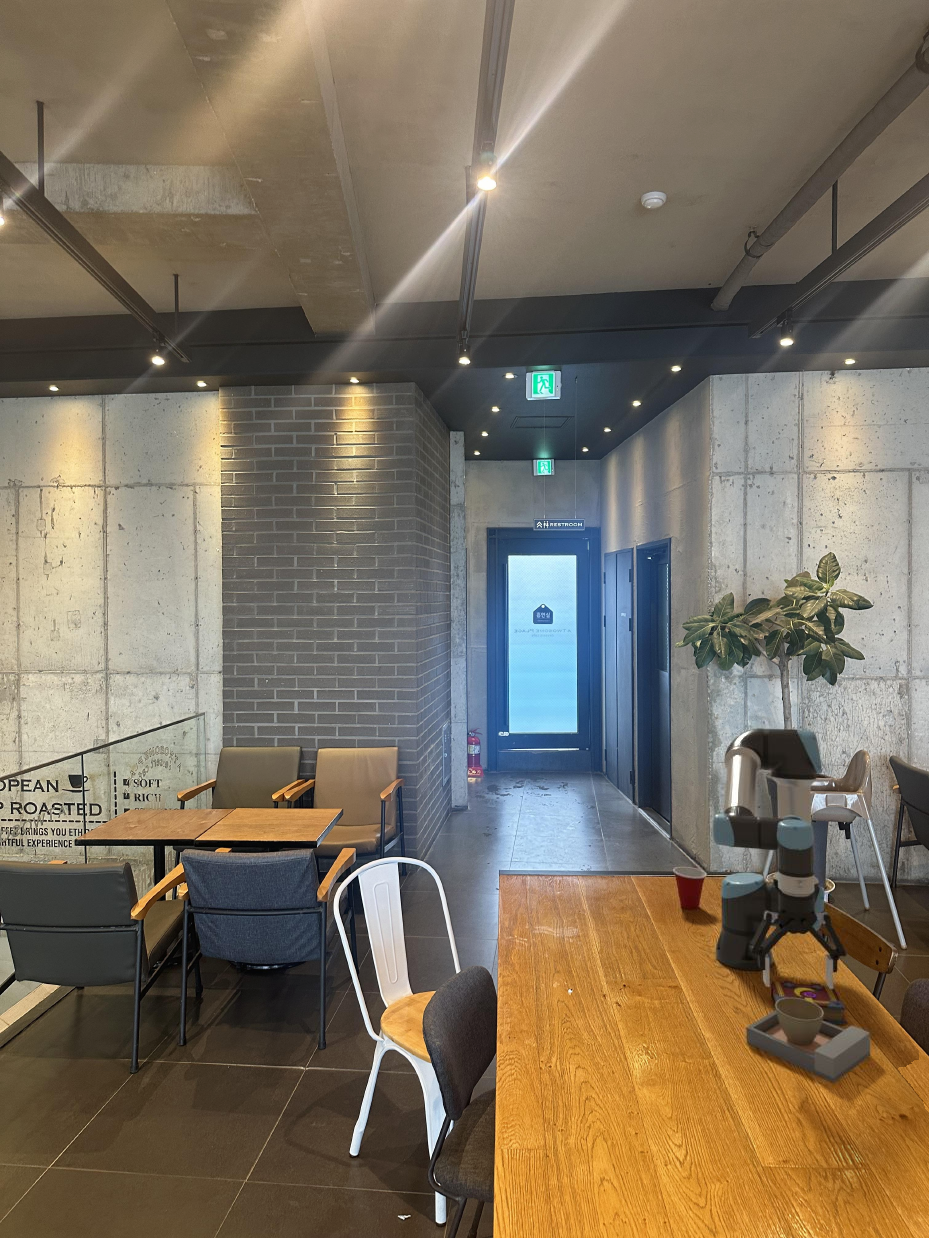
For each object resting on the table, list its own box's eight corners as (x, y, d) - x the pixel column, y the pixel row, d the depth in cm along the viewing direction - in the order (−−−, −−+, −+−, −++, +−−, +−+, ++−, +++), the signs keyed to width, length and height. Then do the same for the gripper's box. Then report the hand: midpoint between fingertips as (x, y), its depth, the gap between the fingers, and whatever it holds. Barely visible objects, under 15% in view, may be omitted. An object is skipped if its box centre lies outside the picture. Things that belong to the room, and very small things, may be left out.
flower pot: (775, 1047, 174) (775, 1014, 174) (776, 1025, 183) (775, 994, 183) (825, 1055, 170) (824, 1022, 170) (823, 1032, 179) (822, 1001, 179)
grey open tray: (784, 1019, 188) (784, 998, 188) (870, 1055, 172) (869, 1032, 172) (746, 1042, 178) (746, 1020, 178) (833, 1082, 162) (833, 1058, 162)
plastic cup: (711, 912, 256) (711, 875, 256) (678, 912, 256) (677, 876, 256) (702, 900, 267) (701, 865, 267) (670, 900, 267) (669, 865, 267)
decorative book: (770, 997, 199) (770, 977, 199) (839, 1003, 195) (838, 983, 195) (777, 1020, 188) (777, 999, 188) (850, 1027, 184) (850, 1005, 184)
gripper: (742, 896, 174) (744, 990, 175) (861, 898, 171) (862, 994, 171) (735, 883, 182) (736, 974, 182) (848, 886, 179) (850, 978, 179)
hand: (797, 984), depth 177 cm, fingers open, 13 cm apart
